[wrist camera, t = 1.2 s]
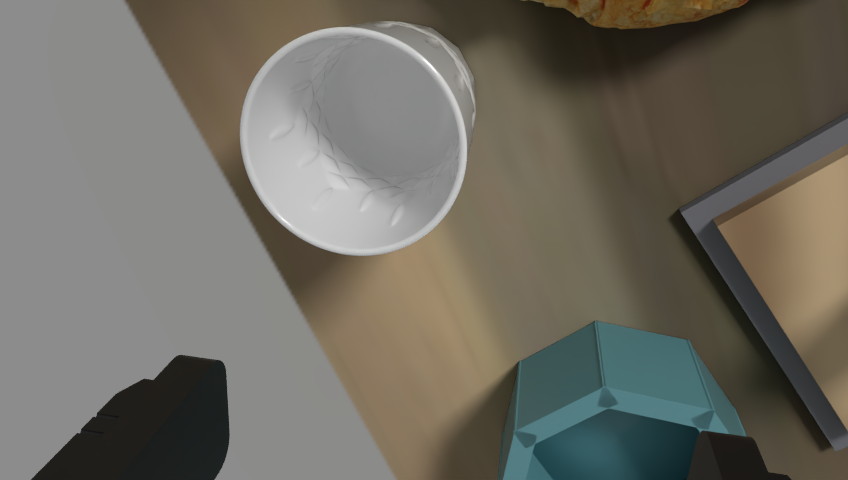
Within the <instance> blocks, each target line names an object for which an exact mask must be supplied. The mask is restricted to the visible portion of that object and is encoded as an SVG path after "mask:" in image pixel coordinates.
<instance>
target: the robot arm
mask: <svg viewBox="0 0 848 480" xmlns="http://www.w3.org/2000/svg"><path fill="white" fill-rule="evenodd" d="M228 445H229V416H228V399H227V380H226V369H225V366H224V363H223V362H222V361H220V360H213V359H206V358H198V357H192V356H185V355H178V356H176V357H175V358H174V359H173V360H172V361H171V362H170V363H169V364H168V365H167V366H166V367H165V368H164V370H163V371H162V372H161V373H160V374H159V375H158V376H157V377H156V378H155V379H154V380H149V379H143V380H141V381H139V382H137V383H135V384H133V385H132V386H130V387H128V388H126V389H124V390H122V391H121V392H119V393H117V394H116V395H115V396H114V397H113V398H112V399H111V400H110V401H109V402H108V403H107V404H106V405H105V406H104V407H103V408H102V409H101V410H100V411H99V412H98V413H97V416H96V417H93V418H92V419H91V420H90V421H89V422H88V423H87V424H86V425H85V426H84V427H83V428H82V429H81V433H80V434H79V433H77V434H76V435H75V436H74V437H73V438H72V439H71V440H70V441H69V442H68V443H67V444H66V445H65V446H64V447H63V448H62V449H61V450H60V451H59V452H58V453H57V454H56V455H55V456H54V457H53V458H52V459H51V460H50V461H49V462H48V463H47V464H46V465H45V466H44V467H43V468H42V469H41V470H40V471H39V472H38V473H37V474H36V475H35V476H34V477H33V478H32V479H31V480H214V479H215V478H216V476H217V474H218V473H219V471H220V470H221V468H222V465H223V463H224V461H225V458H226V454H227V450H228ZM687 480H791V479H790V478H789V477H788V476H787V475H783V474H776V473H769V472H768V471H767V468H766V466H765V464H764V461H763V459H762V456H761V454H760V452H759V449H758V447H757V444H756V442H755V440H754V439H753V438H751V437H746V436H739V435H732V434H725V433H718V432H711V431H704V430H703V431H701V432H700V434H699V436H698V438H697V441H696V445H695V449H694V453H693V457H692V461H691V466H690V470H689V474H688V478H687Z"/></svg>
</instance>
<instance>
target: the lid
mask: <svg viewBox="0 0 848 480" xmlns="http://www.w3.org/2000/svg"><path fill="white" fill-rule="evenodd" d="M713 221H714V222H715V224H716V225H717V227H718V229H719V230H720V232H721V233H722V235H723V236H724V238H725V240H726V241H727V243H728V244H729V246H730V247H731V249H732V250H733V252H734V254H735V255H736V257H737V258H738V260H739V261H740V263H741V265H742V266H743V268H744V269H745V271H746V272H747V274H748V276H749V277H750V279H751V280H752V282H753V283H754V285H755V286H756V288H757V290H758V291H759V293H760V294H761V296H762V297H763V299H764V301H765V302H766V304H767V305H768V307H769V308H770V310H771V312H772V313H773V315H774V316H775V318H776V319H777V321H778V322H779V324H780V326H781V327H782V329H783V330H784V332H785V333H786V335H787V337H788V338H789V340H790V341H791V343H792V344H793V346H794V348H795V349H796V351H797V352H798V354H799V355H800V357H801V359H802V360H803V362H804V363H805V365H806V366H807V368H808V369H809V371H810V373H811V374H812V376H813V377H814V379H815V380H816V382H817V384H818V385H819V387H820V388H821V390H822V391H823V393H824V395H825V396H826V398H827V399H828V401H829V402H830V404H831V405H832V407H833V409H834V410H835V412H836V413H837V415H838V416H839V418H840V420H841V421H842V423H843V424H844V426H845V427H846V429H847V431H848V144H847V145H845V146H843V147H841V148H839V149H838V150H836V151H834V152H832V153H830V154H829V155H827V156H825V157H823V158H821V159H820V160H818V161H816V162H814V163H812V164H811V165H809V166H807V167H805V168H803V169H802V170H800V171H798V172H796V173H794V174H793V175H791V176H789V177H787V178H785V179H784V180H782V181H780V182H778V183H776V184H775V185H773V186H771V187H769V188H767V189H766V190H764V191H762V192H760V193H758V194H757V195H755V196H753V197H751V198H749V199H748V200H746V201H744V202H742V203H740V204H739V205H737V206H735V207H733V208H731V209H730V210H728V211H726V212H724V213H722V214H721V215H719V216H717V217H715V218H713Z"/></svg>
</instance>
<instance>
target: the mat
mask: <svg viewBox="0 0 848 480" xmlns="http://www.w3.org/2000/svg"><path fill="white" fill-rule="evenodd" d="M847 144H848V113H846V114H844V115H842V116H841V117H839V118H837V119H835V120H833V121H832V122H830V123H828V124H826V125H825V126H823V127H821V128H819V129H818V130H816V131H814V132H812V133H811V134H809V135H807V136H805V137H804V138H802V139H800V140H798V141H797V142H795V143H793V144H791V145H790V146H788V147H786V148H784V149H783V150H781V151H779V152H777V153H776V154H774V155H772V156H770V157H769V158H767V159H765V160H763V161H762V162H760V163H758V164H756V165H755V166H753V167H751V168H749V169H748V170H746V171H744V172H742V173H741V174H739V175H737V176H735V177H734V178H732V179H730V180H728V181H727V182H725V183H723V184H721V185H720V186H718V187H716V188H714V189H712V190H711V191H709V192H707V193H705V194H704V195H702V196H700V197H698V198H697V199H695V200H693V201H691V202H690V203H688V204H686V205H684V206H683V207H681V208H679V210H680V212H681V214H682V215H683V217H684V218H685V220H686V221H687V223H688V225H689V226H690V228H691V229H692V231H693V232H694V234H695V235H696V237H697V238H698V240H699V242H700V243H701V245H702V246H703V248H704V249H705V251H706V252H707V254H708V255H709V257H710V258H711V260H712V262H713V263H714V265H715V266H716V268H717V269H718V271H719V272H720V274H721V275H722V277H723V279H724V280H725V282H726V283H727V285H728V286H729V288H730V289H731V291H732V292H733V294H734V295H735V297H736V299H737V300H738V302H739V303H740V305H741V306H742V308H743V309H744V311H745V312H746V314H747V316H748V317H749V319H750V320H751V322H752V323H753V325H754V326H755V328H756V329H757V331H758V332H759V334H760V336H761V337H762V339H763V340H764V342H765V343H766V345H767V346H768V348H769V349H770V351H771V353H772V354H773V356H774V357H775V359H776V360H777V362H778V363H779V365H780V366H781V368H782V369H783V371H784V373H785V374H786V376H787V377H788V379H789V380H790V382H791V383H792V385H793V386H794V388H795V390H796V391H797V393H798V394H799V396H800V397H801V399H802V400H803V402H804V403H805V405H806V406H807V408H808V410H809V411H810V413H811V414H812V416H813V417H814V419H815V420H816V422H817V423H818V425H819V427H820V428H821V430H822V431H823V433H824V434H825V436H826V437H827V439H828V440H829V442H830V443H831V445H832V447H833V448H834V450H835V451H838V450H841V449H843V448H845V447H848V431H847V429H846V427H845V426H844V424H843V423H842V421H841V420H840V418H839V416H838V415H837V413H836V412H835V410H834V409H833V407H832V405H831V404H830V402H829V401H828V399H827V398H826V396H825V395H824V393H823V391H822V390H821V388H820V387H819V385H818V384H817V382H816V380H815V379H814V377H813V376H812V374H811V373H810V371H809V369H808V368H807V366H806V365H805V363H804V362H803V360H802V359H801V357H800V355H799V354H798V352H797V351H796V349H795V348H794V346H793V344H792V343H791V341H790V340H789V338H788V337H787V335H786V333H785V332H784V330H783V329H782V327H781V326H780V324H779V322H778V321H777V319H776V318H775V316H774V315H773V313H772V312H771V310H770V308H769V307H768V305H767V304H766V302H765V301H764V299H763V297H762V296H761V294H760V293H759V291H758V290H757V288H756V286H755V285H754V283H753V282H752V280H751V279H750V277H749V276H748V274H747V272H746V271H745V269H744V268H743V266H742V265H741V263H740V261H739V260H738V258H737V257H736V255H735V254H734V252H733V250H732V249H731V247H730V246H729V244H728V243H727V241H726V240H725V238H724V236H723V235H722V233H721V232H720V230H719V229H718V227H717V225H716V224H715V222H714V221H713V218H715V217H717V216H719V215H721V214H722V213H724V212H726V211H728V210H730V209H731V208H733V207H735V206H737V205H739V204H740V203H742V202H744V201H746V200H748V199H749V198H751V197H753V196H755V195H757V194H758V193H760V192H762V191H764V190H766V189H767V188H769V187H771V186H773V185H775V184H776V183H778V182H780V181H782V180H784V179H785V178H787V177H789V176H791V175H793V174H794V173H796V172H798V171H800V170H802V169H803V168H805V167H807V166H809V165H811V164H812V163H814V162H816V161H818V160H820V159H821V158H823V157H825V156H827V155H829V154H830V153H832V152H834V151H836V150H838V149H839V148H841V147H843V146H845V145H847Z"/></svg>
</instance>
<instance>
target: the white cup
mask: <svg viewBox="0 0 848 480" xmlns="http://www.w3.org/2000/svg"><path fill="white" fill-rule="evenodd" d="M475 110H476V106H475V85H474V77H473V75H472V73H471V71H470V69H469V67H468V65H467V63H466V61H465V59H464V57H463V56H462V54H461V52H460V50H459V48H458V47H457V46H455V45H454V44H453V43H451V42H450V41H449V40H447V39H446V38H445V37H443V36H442V35H441V34H440V33H438V32H437V31H436V30H434V29H433V28H432V27H427V26H422V25H417V24H412V23H406V22H401V21H395V22H394V21H380V22H366V23H359V24H353V25H348V26H341V27H334V28H327V29H322V30H318V31H314V32H311V33H308V34H305V35H303V36H301V37H298V38H296V39H295V40H293V41H291V42H289V43H288V44H286V45H285V46H283V47H282V48H281V49H279V50H278V51H277V52H276V53H275V54H273V55H272V56H271V57H270V58H269V59H268V60H267V62H266V63H265V64H264V65H263V66H262V68H261V69H260V70H259V72H258V73H257V75H256V76H255V78H254V80H253V82H252V83H251V85H250V88H249V90H248V92H247V95H246V98H245V101H244V104H243V108H242V113H241V120H240V145H241V153H242V158H243V162H244V166H245V169H246V172H247V175H248V177H249V180H250V182H251V184H252V186H253V188H254V190H255V192H256V194H257V195H258V197H259V199H260V200H261V202H262V203H263V204H264V206H265V207H266V208H267V210H268V211H269V212H270V213H271V214H272V215H273V217H274V218H275V219H276V220H277V221H278V222H279V223H281V224H282V225H283V226H284V227H285V228H286V229H288V230H289V231H290V232H292V233H293V234H294V235H296V236H297V237H299V238H301V239H302V240H304V241H306V242H308V243H310V244H312V245H314V246H316V247H319V248H321V249H324V250H327V251H330V252H334V253H339V254H344V255H352V256H371V255H380V254H385V253H389V252H393V251H396V250H399V249H402V248H404V247H406V246H408V245H410V244H412V243H414V242H416V241H418V240H419V239H421V238H422V237H424V236H425V235H426V234H428V233H429V232H430V231H431V230H432V229H434V228H435V227H436V226H437V225H438V224H439V223H440V221H441V220H442V219H443V218H444V217H445V215H446V214H447V213H448V211H449V210H450V208H451V207H452V205H453V203H454V201H455V199H456V197H457V195H458V193H459V191H460V188H461V185H462V182H463V178H464V174H465V170H466V165H467V160H468V156H469V151H470V147H471V143H472V138H473V132H474V122H475Z"/></svg>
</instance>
